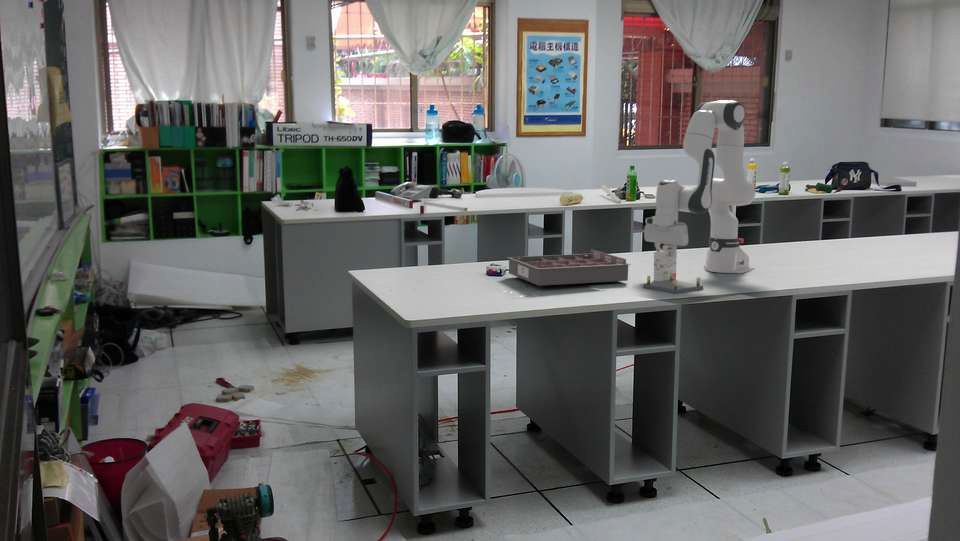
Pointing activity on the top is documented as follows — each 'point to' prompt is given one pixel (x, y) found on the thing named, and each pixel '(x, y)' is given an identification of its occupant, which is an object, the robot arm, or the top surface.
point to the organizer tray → (569, 268)
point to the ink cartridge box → (664, 264)
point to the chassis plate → (673, 285)
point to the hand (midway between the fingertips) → (665, 254)
